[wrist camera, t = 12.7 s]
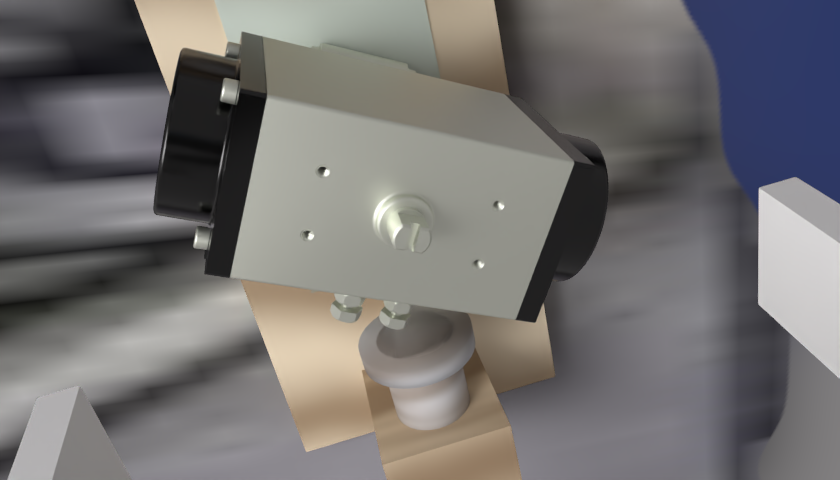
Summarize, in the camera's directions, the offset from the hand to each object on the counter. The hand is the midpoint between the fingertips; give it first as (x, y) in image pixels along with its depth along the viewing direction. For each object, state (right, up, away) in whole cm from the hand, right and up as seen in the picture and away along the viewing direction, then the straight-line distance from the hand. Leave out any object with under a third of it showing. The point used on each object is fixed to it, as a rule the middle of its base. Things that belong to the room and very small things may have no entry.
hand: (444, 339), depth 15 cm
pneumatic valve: (-3, +7, +14) cm, 16 cm away
